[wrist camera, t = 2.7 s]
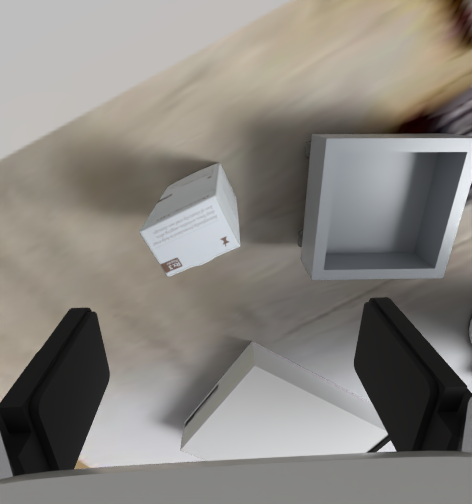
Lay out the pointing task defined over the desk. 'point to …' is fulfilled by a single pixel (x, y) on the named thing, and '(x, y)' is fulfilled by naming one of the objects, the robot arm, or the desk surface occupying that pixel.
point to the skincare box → (193, 221)
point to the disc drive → (279, 414)
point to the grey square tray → (383, 204)
